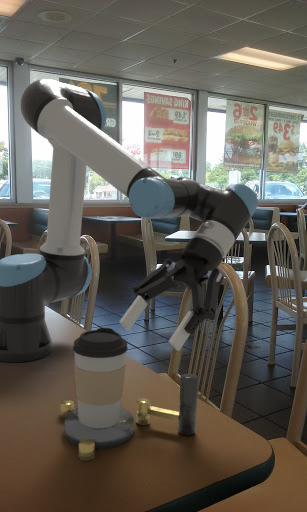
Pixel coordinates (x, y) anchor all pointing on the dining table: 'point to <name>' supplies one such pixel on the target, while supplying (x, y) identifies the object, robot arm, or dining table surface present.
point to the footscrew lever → (186, 407)
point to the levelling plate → (95, 431)
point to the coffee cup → (99, 376)
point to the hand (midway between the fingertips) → (147, 336)
